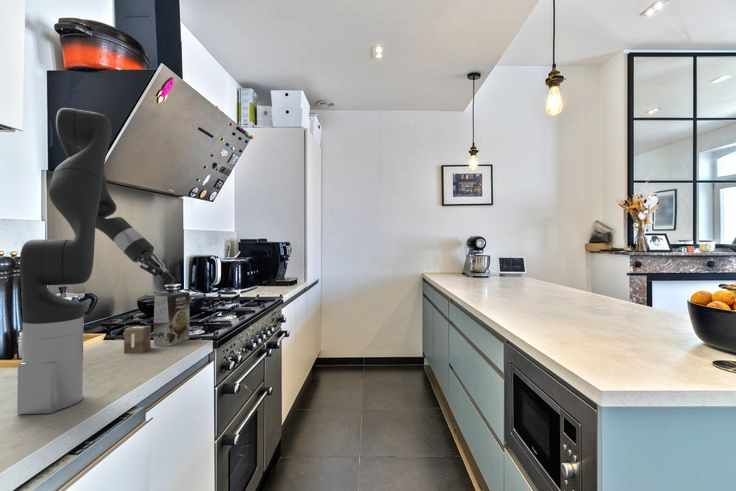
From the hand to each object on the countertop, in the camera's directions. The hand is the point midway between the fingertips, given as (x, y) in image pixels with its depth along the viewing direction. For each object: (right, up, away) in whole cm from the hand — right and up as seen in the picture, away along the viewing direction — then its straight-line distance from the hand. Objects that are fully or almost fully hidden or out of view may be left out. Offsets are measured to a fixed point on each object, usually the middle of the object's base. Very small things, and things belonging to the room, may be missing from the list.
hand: (172, 282), depth 116 cm
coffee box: (0, -20, 0) cm, 20 cm away
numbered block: (-5, -20, -9) cm, 23 cm away
